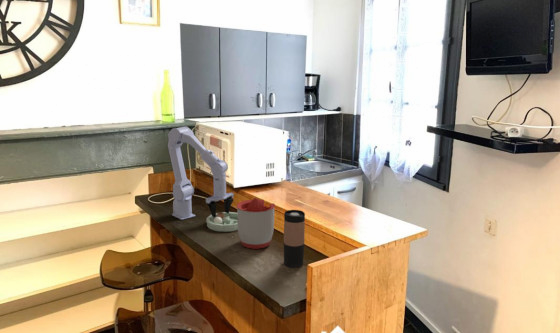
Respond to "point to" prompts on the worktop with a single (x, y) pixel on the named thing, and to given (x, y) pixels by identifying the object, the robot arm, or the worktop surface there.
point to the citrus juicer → (255, 223)
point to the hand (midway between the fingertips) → (220, 214)
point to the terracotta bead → (220, 215)
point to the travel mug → (294, 238)
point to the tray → (221, 226)
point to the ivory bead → (218, 220)
